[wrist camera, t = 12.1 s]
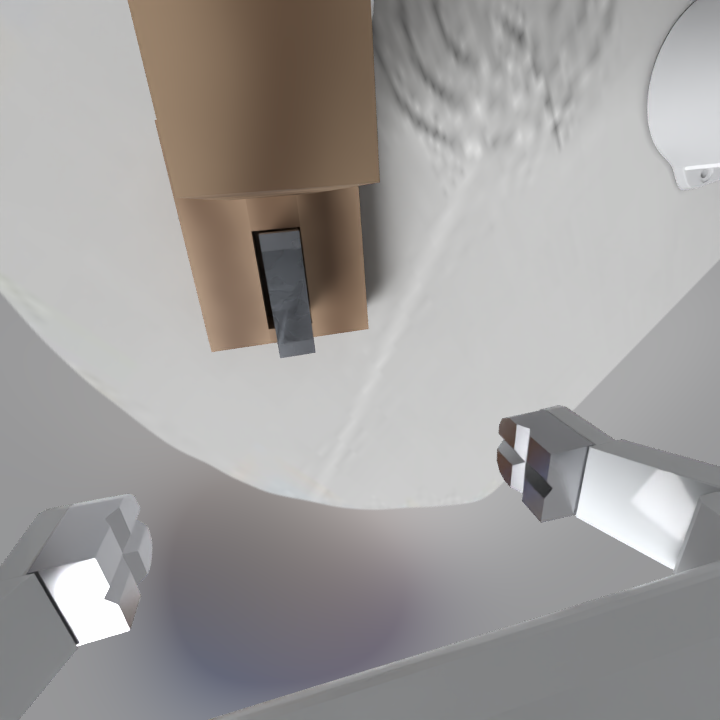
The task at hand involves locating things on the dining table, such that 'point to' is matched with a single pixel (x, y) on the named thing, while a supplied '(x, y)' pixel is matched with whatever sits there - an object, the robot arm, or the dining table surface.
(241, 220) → the wooden l-shaped post
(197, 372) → the dining table surface
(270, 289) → the grey rectangular block
